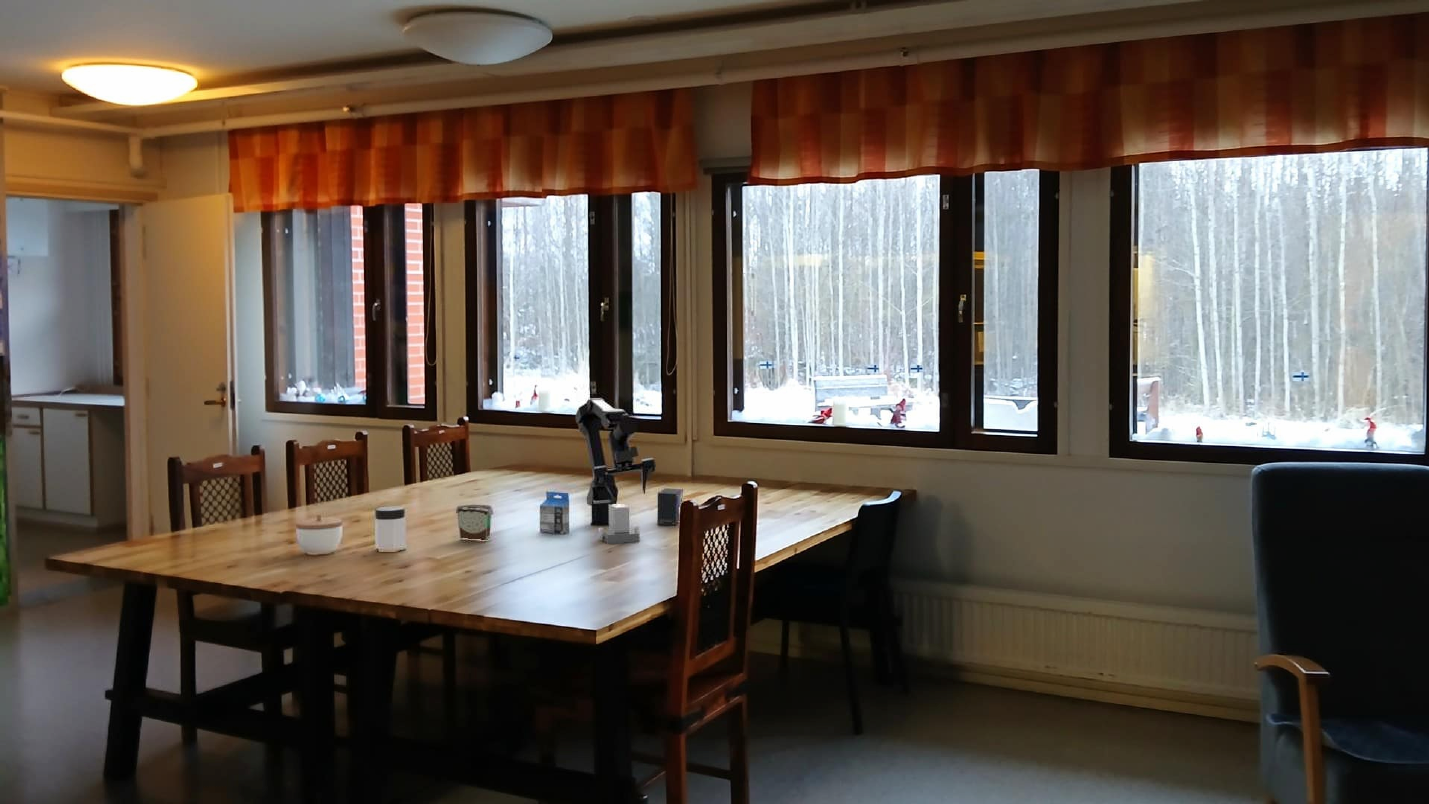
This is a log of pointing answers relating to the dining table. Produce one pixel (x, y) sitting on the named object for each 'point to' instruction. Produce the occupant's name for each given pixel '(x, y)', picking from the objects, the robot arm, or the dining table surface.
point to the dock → (619, 536)
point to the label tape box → (555, 513)
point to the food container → (474, 521)
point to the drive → (618, 519)
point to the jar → (390, 527)
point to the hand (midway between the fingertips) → (629, 495)
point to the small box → (669, 506)
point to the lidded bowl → (319, 533)
